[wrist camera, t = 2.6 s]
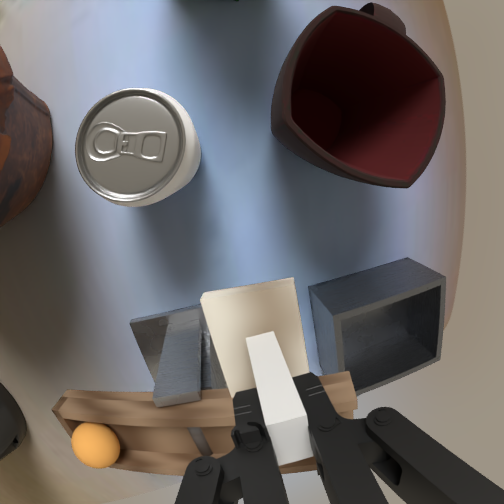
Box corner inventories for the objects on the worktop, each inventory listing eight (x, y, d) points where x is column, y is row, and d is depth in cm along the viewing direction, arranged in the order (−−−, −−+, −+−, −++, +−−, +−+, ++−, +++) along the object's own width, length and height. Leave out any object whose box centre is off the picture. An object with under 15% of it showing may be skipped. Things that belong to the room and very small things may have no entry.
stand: (168, 405, 31) (160, 485, 20) (131, 319, 28) (98, 393, 17) (258, 387, 32) (278, 467, 21) (233, 296, 29) (248, 366, 18)
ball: (98, 441, 22) (80, 472, 18) (76, 409, 21) (54, 441, 17) (134, 446, 21) (118, 481, 18) (113, 413, 20) (92, 449, 16)
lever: (102, 443, 23) (91, 463, 21) (30, 315, 20) (8, 332, 17) (351, 435, 20) (357, 462, 18) (339, 268, 17) (349, 289, 14)
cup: (235, 149, 26) (256, 132, 14) (293, 19, 23) (340, -51, 12) (338, 193, 28) (416, 211, 16) (384, 68, 25) (464, 32, 14)
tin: (319, 363, 32) (340, 401, 26) (308, 286, 30) (332, 315, 23) (408, 332, 33) (440, 359, 27) (407, 257, 30) (445, 276, 24)
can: (132, 114, 24) (80, 78, 12) (207, 122, 25) (206, 85, 13) (121, 189, 25) (60, 204, 14) (195, 198, 26) (183, 219, 15)
